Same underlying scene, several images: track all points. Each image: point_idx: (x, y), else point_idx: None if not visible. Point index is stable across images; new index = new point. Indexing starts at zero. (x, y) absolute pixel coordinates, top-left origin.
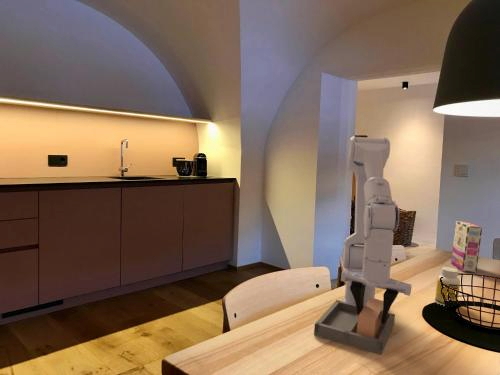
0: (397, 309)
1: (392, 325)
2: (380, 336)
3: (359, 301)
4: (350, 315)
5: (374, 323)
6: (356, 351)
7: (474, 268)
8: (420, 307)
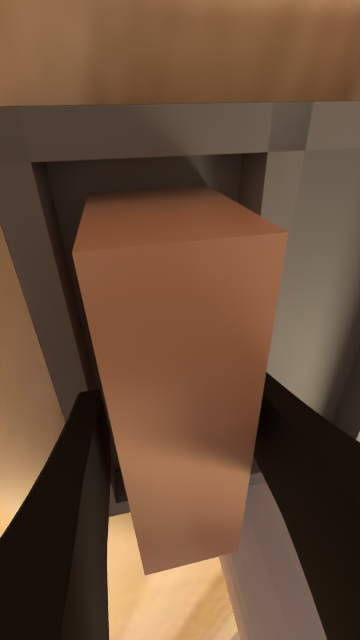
0: (131, 549)
1: None
2: (39, 233)
3: (328, 458)
4: None
5: (84, 240)
6: (164, 38)
7: None
8: None
